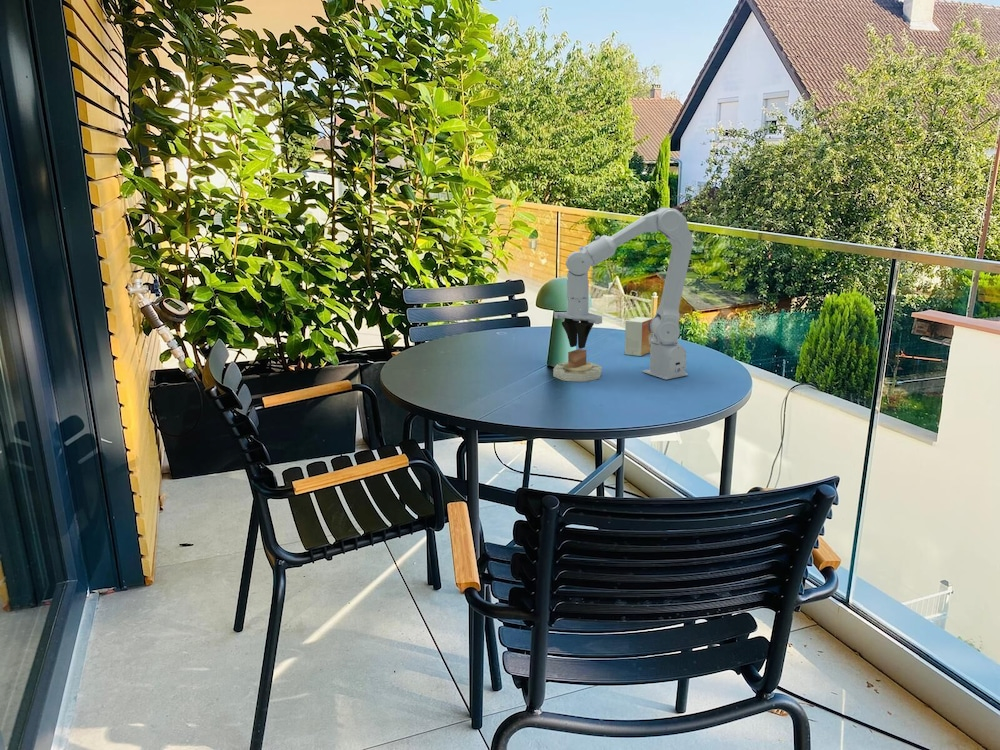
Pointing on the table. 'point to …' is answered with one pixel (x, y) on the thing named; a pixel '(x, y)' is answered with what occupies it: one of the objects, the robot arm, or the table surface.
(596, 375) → the flat stone slab
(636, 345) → the small box
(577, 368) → the cap
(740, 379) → the table surface
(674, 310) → the robot arm
